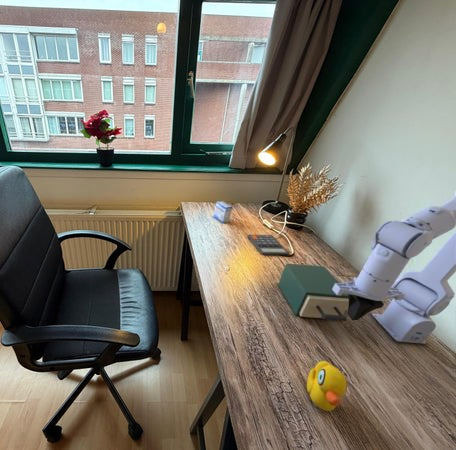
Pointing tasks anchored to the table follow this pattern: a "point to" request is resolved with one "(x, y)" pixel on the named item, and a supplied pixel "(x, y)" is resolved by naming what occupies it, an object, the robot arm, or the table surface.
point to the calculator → (268, 245)
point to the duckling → (326, 385)
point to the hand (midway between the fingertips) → (352, 317)
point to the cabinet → (306, 284)
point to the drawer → (324, 307)
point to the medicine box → (223, 211)
